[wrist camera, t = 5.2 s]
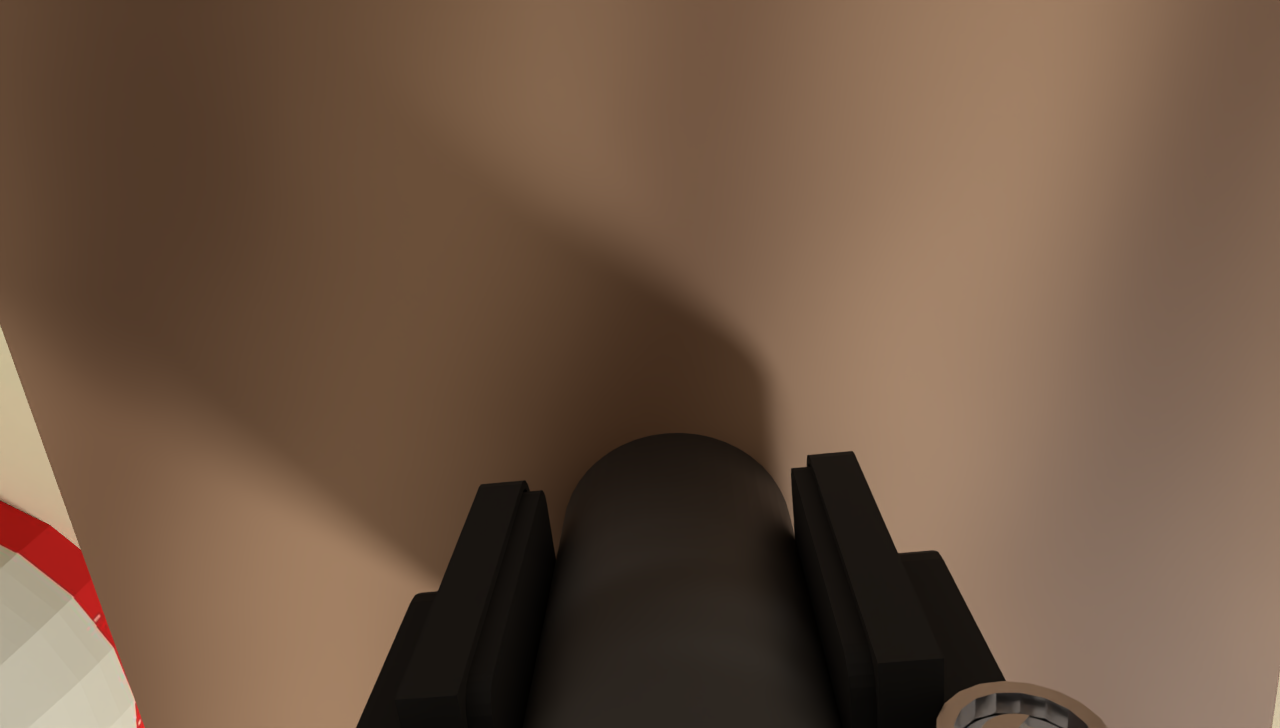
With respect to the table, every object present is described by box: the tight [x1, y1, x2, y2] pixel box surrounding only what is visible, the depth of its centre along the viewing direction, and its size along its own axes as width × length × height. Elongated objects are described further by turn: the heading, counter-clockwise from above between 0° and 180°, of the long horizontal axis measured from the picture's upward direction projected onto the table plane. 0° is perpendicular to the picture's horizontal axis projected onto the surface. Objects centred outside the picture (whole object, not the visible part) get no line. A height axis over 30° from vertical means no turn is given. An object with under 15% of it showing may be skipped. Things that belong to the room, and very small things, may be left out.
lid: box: [0, 0, 1280, 728], centre depth 10 cm, size 16×16×7 cm
